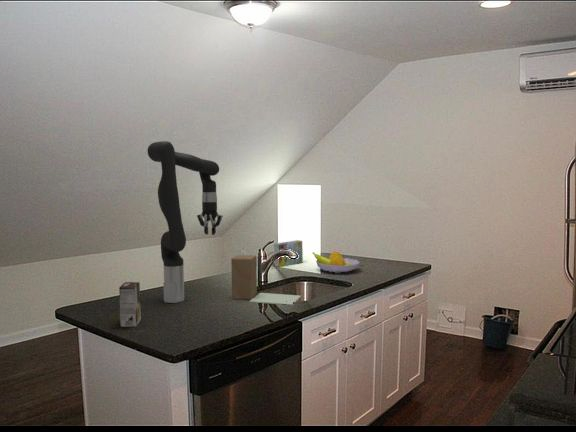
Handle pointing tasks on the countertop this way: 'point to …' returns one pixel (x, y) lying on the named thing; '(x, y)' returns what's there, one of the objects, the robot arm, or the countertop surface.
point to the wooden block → (244, 277)
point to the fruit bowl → (336, 263)
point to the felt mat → (275, 298)
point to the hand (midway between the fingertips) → (210, 234)
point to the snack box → (293, 246)
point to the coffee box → (130, 304)
